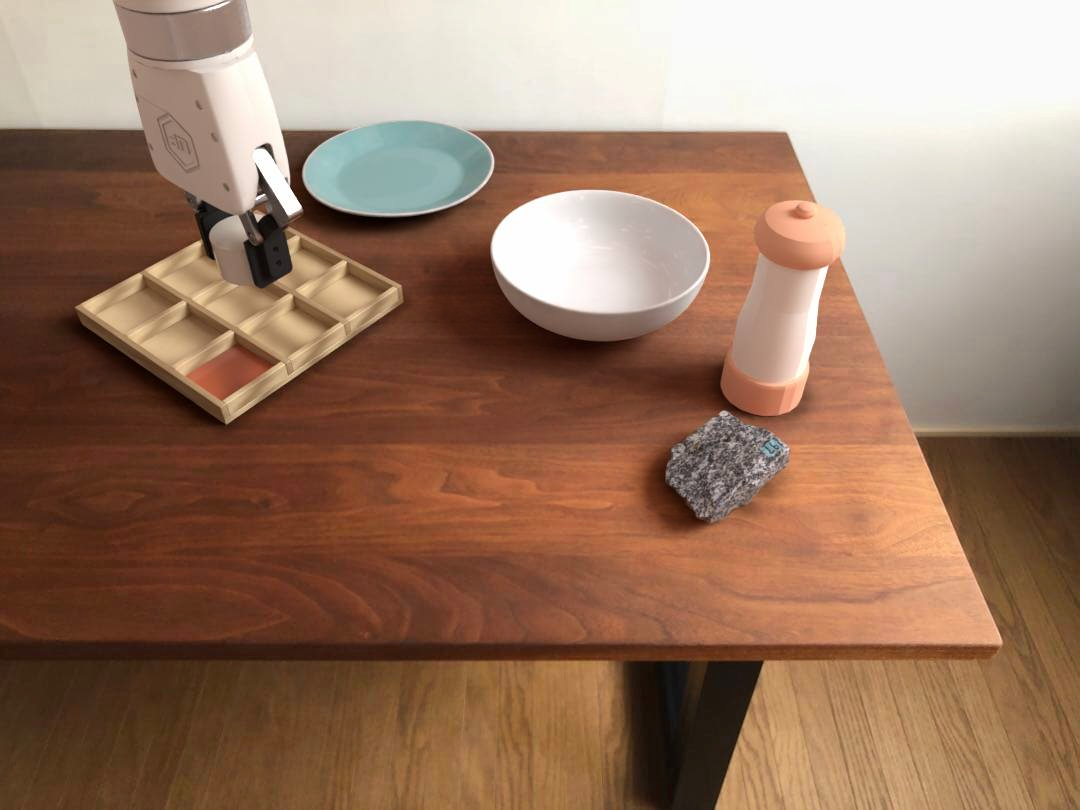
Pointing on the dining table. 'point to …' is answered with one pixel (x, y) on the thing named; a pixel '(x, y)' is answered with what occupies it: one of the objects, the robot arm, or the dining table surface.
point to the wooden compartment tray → (238, 321)
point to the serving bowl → (599, 263)
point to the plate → (398, 168)
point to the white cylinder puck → (231, 250)
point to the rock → (724, 465)
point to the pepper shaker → (781, 307)
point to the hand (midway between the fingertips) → (250, 262)
